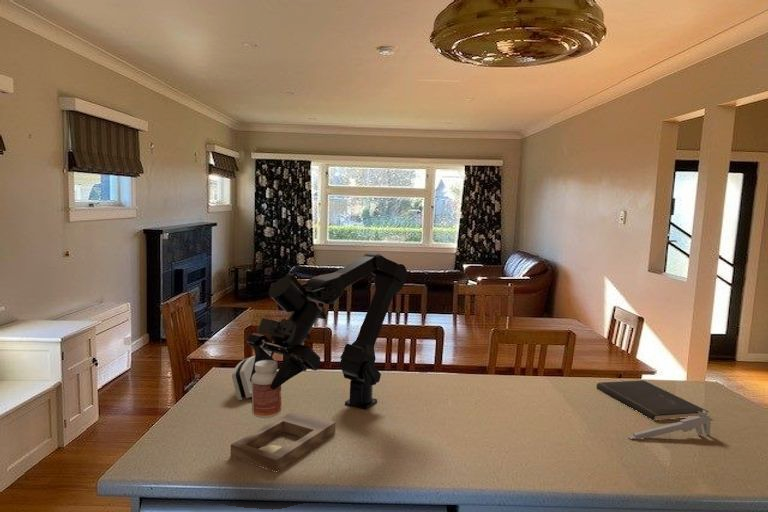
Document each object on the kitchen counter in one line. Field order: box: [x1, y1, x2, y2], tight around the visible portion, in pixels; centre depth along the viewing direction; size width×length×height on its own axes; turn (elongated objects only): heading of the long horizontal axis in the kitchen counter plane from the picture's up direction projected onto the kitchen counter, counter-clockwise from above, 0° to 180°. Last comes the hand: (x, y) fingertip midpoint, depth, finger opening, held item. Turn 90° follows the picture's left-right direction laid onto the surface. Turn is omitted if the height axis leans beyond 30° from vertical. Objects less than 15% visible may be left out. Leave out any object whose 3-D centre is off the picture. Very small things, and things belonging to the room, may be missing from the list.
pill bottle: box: [251, 359, 282, 419], centre depth 105 cm, size 6×6×11 cm
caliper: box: [627, 409, 712, 440], centre depth 114 cm, size 20×1×6 cm, turn 99°
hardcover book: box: [596, 379, 709, 421], centre depth 136 cm, size 16×23×2 cm
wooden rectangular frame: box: [230, 410, 336, 473], centre depth 106 cm, size 20×12×2 cm, turn 151°
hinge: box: [231, 355, 255, 401], centre depth 137 cm, size 17×5×10 cm, turn 173°
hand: (261, 385), depth 104 cm, fingers closed on pill bottle, 6 cm apart
